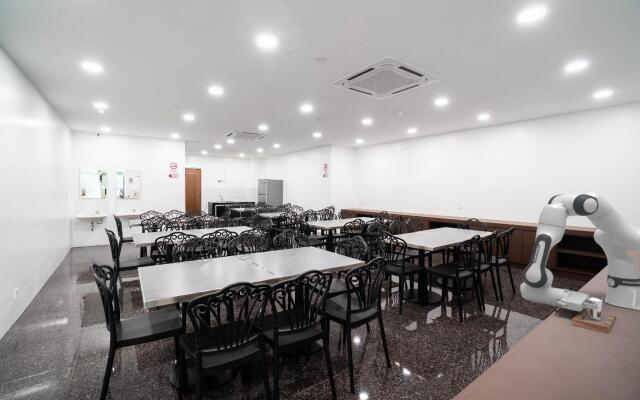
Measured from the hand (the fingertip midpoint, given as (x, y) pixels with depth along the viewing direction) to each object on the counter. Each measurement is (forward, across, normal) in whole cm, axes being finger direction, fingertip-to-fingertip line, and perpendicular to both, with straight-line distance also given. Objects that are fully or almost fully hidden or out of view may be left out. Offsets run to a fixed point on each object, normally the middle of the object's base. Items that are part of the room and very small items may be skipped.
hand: (599, 305), depth 134 cm
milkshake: (-1, 0, +6) cm, 6 cm away
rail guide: (-1, -5, +6) cm, 8 cm away
